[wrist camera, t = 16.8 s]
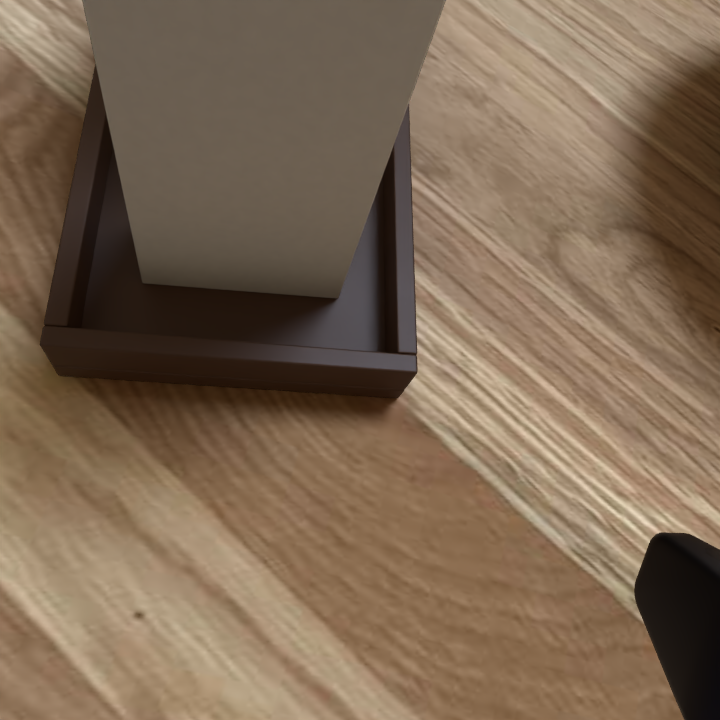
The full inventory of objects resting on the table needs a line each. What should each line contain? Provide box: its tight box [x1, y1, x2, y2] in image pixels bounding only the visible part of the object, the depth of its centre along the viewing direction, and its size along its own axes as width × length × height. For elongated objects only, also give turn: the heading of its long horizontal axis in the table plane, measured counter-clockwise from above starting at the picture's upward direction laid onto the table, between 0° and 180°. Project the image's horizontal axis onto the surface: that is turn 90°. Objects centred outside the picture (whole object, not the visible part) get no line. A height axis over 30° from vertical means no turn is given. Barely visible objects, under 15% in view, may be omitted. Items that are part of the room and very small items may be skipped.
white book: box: [82, 0, 446, 298], centre depth 14 cm, size 2×6×15 cm, turn 91°
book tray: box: [40, 64, 417, 398], centre depth 23 cm, size 17×10×2 cm, turn 0°
